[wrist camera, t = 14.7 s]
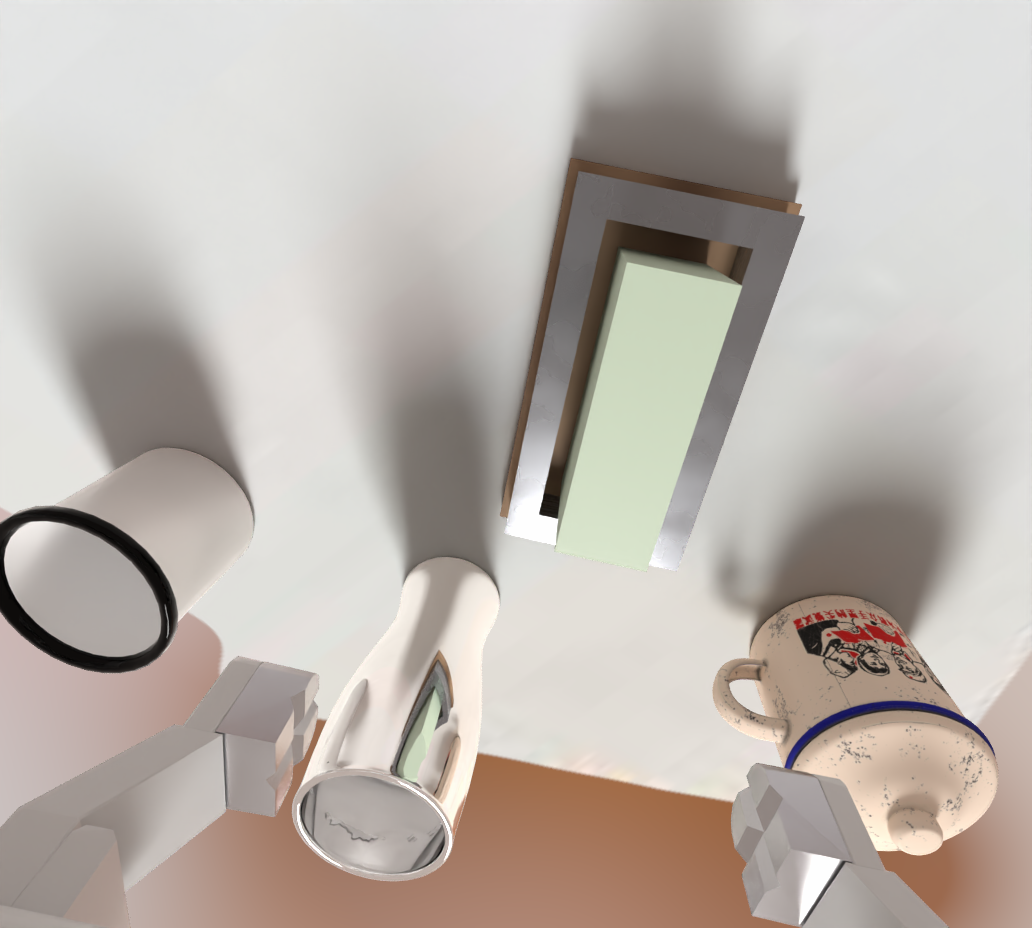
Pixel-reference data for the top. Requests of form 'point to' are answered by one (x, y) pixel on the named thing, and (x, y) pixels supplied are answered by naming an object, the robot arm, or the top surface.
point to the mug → (122, 559)
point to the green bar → (641, 404)
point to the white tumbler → (404, 733)
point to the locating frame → (578, 310)
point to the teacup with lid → (865, 720)
